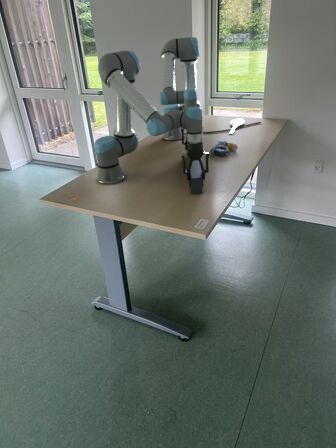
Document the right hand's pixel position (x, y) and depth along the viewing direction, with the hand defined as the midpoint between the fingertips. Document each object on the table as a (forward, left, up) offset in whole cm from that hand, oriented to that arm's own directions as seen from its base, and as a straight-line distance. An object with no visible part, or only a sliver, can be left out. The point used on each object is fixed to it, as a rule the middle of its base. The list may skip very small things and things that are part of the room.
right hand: (192, 154), depth 210 cm
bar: (+12, +20, -1) cm, 23 cm away
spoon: (-60, -33, -2) cm, 68 cm away
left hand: (+23, +40, 0) cm, 46 cm away
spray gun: (-21, +5, -2) cm, 21 cm away
